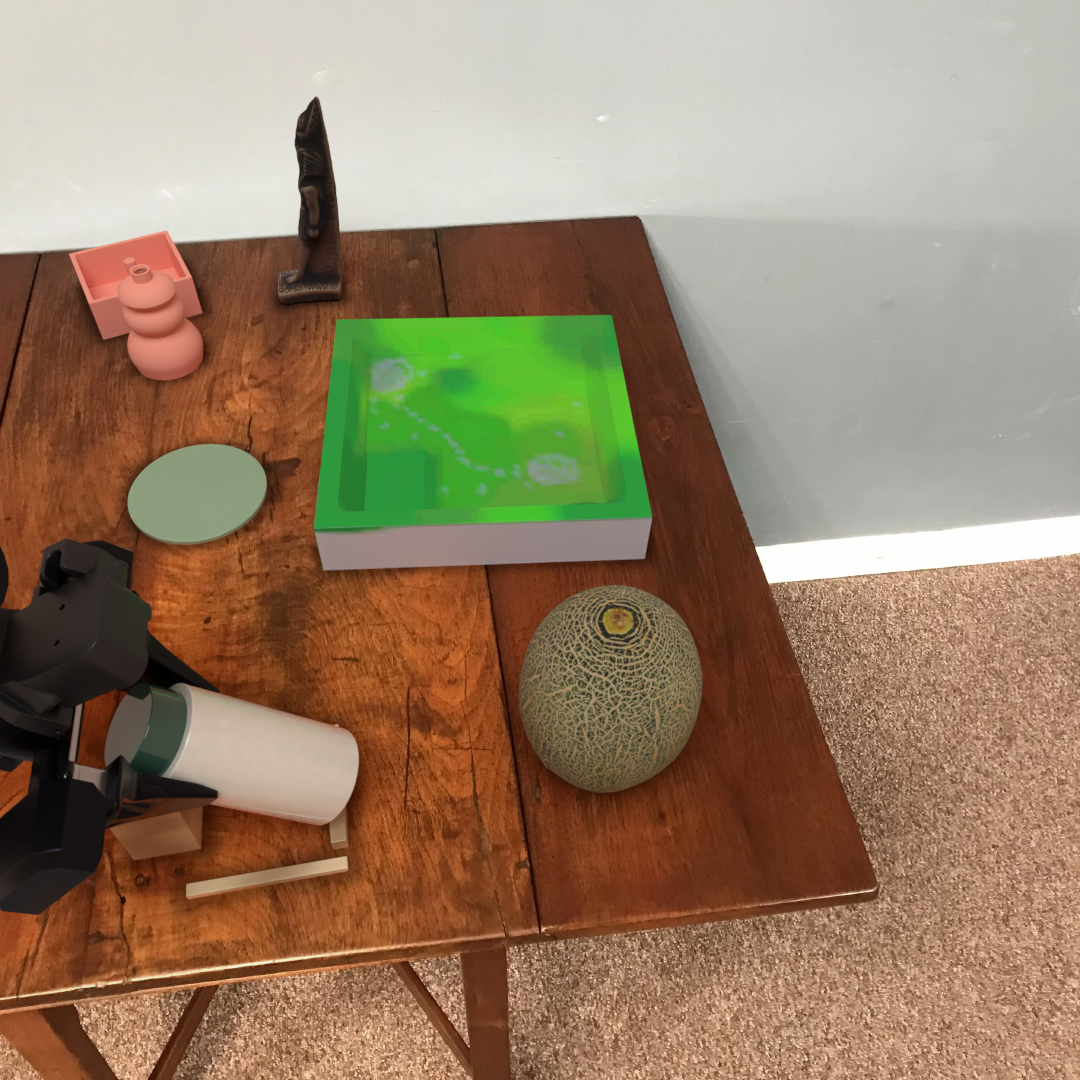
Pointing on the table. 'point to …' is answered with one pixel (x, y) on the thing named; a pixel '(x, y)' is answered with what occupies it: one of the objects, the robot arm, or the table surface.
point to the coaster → (197, 494)
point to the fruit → (610, 688)
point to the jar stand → (186, 835)
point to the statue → (314, 217)
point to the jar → (237, 751)
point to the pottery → (144, 302)
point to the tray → (478, 445)
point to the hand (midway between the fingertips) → (215, 747)
